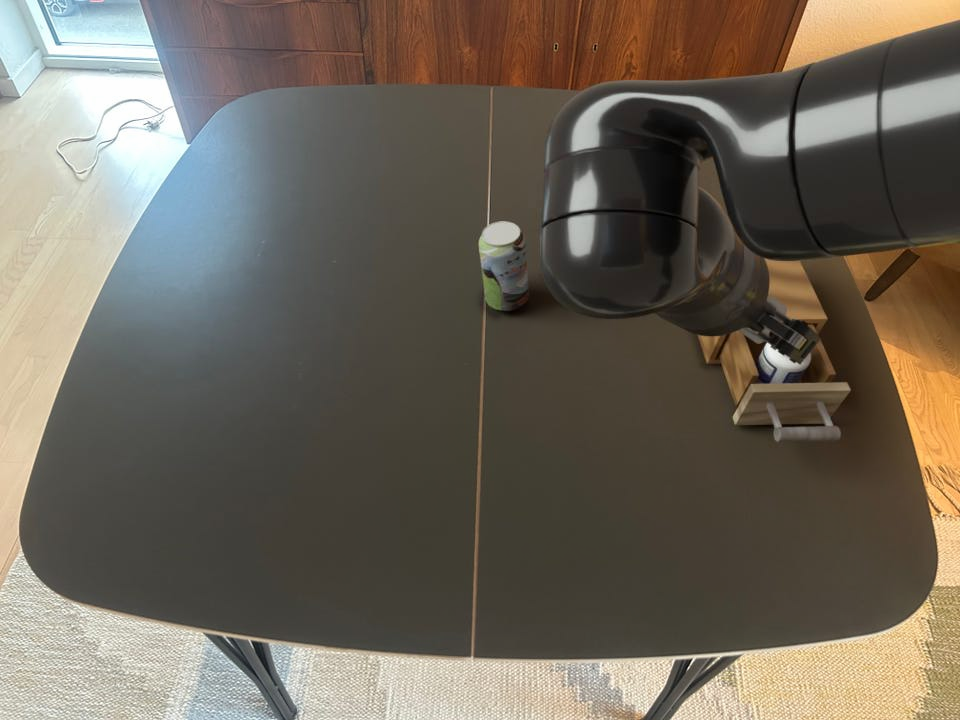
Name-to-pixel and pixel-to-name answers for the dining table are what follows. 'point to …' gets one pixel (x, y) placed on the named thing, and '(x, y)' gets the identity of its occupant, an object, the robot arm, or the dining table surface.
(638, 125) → the robot arm
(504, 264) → the beverage can
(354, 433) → the dining table surface
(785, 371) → the pill bottle
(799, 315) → the cabinet
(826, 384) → the drawer
